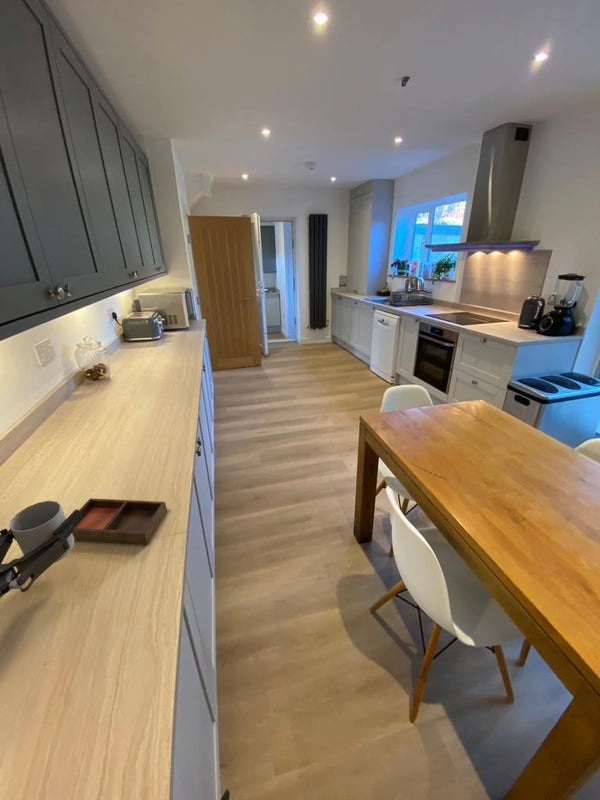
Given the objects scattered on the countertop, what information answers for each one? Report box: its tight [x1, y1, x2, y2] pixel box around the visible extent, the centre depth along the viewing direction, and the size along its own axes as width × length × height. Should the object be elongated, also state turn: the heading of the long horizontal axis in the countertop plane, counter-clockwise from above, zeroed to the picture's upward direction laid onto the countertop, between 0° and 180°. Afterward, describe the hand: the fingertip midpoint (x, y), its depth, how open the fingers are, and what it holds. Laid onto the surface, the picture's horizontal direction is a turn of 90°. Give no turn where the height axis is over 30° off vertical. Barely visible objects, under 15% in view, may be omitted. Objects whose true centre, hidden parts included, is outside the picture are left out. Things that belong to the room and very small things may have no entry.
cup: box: [8, 500, 75, 564], centre depth 68 cm, size 8×8×10 cm
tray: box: [72, 497, 168, 545], centre depth 84 cm, size 21×11×4 cm, turn 86°
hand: (59, 513), depth 71 cm, fingers closed on cup, 8 cm apart
